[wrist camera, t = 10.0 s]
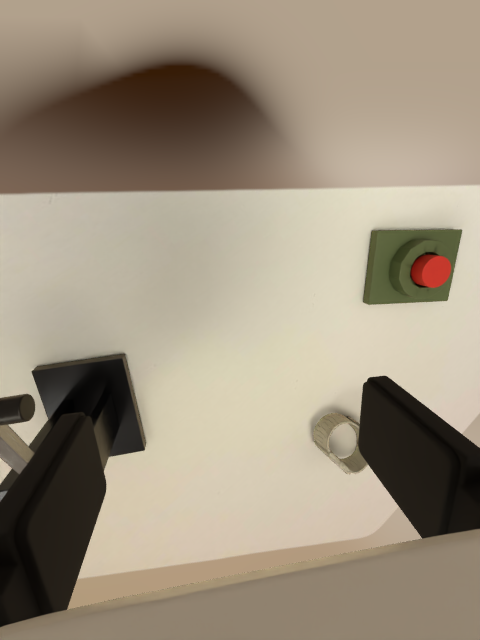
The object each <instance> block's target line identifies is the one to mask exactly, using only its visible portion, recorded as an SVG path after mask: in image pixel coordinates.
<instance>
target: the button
mask: <svg viewBox="0 0 480 640" xmlns="http://www.w3.org/2000/svg"><path fill="white" fill-rule="evenodd" d="M450 273H451V264H450V262H449V260H448V259H447V258H445V257H443V256H437V255H429V254H427V255H423V256H420V257H419V258H418V259H416V260H415V262H414V263H413V265H412V267H411V278H412V280H413V281H414V282H415V283H416V284H419V285H423V286H427V287H431V288H435V287H439V286H441V285H442V284H444V283H445V282H446V280H447V279H448V278H449V276H450Z"/></svg>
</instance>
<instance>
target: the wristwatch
mask: <svg viewBox="0 0 480 640" xmlns="http://www.w3.org/2000/svg"><path fill="white" fill-rule="evenodd" d="M346 423H348V424H350V425H351V426H352V427H353V429H354V430H355V432H356V434H357V444H358V439H359V427H360V424H359V423H357V422H356V421H354V420H353V419H352V418H350V417H349V416H348V417H345V416H343V415H341V414H338V413H331V414H328V415H326V416H324V417H323V418H321V419H320V421H319V422H318V423H317V425H316V426H315V429H314V439H315V441H314V442H315V445H316V446H317V447H318V448H319V449H320V450H321V451H322V452H323V453H324V454H325V455H327V456H328V457H329V458H330V459H331V460H332V461H333V462H334V463H335V464H336V465H337V466H339V467H340V468H341V469H342V470H343V471H344V472H345V473H346V474H351V473H353V474H356V473H359V472H361V471H362V470H364V468H366V466H367V465H368V463H367V462H366V461H365V459H364V458H363V457H362V455H361V454H360V451H359V448H358V446H357V448H356V450H355V451H354V453H353V454H352V455H351V456H349V457H347V458H344V459H339V458H338V457H337V456H335V455H334V454H333V453H332V452H331V451H330V449H329V438H330V436H331V434H332V432H333V430H334V429H335V428H336V427H338V426H339V425H341V424H346Z"/></svg>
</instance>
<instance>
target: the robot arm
mask: <svg viewBox="0 0 480 640" xmlns="http://www.w3.org/2000/svg"><path fill="white" fill-rule="evenodd" d="M358 448H359V451H360V454H361V455H362V457H363V458H364V459H365V461H366V462H367V463H368V465H369V466H370V468H371V469H372V470H373V472H374V473H375V474H376V476H377V477H378V478H379V480H380V481H381V483H382V484H383V485H384V487H385V488H386V489H387V491H388V492H389V493H390V495H391V496H392V498H393V499H394V500H395V502H396V503H397V504H398V506H399V507H400V508H401V510H402V511H403V512H404V514H405V515H406V517H407V518H408V519H409V521H410V522H411V524H412V525H413V526H414V528H415V529H416V530H417V532H418V533H419V534H420V536H421V537H422V539H418V540H413V541H407V542H402V543H397V544H392V545H387V546H381V547H376V548H371V549H365V550H360V551H355V552H350V553H344V554H339V555H334V556H328V557H323V558H318V559H314V560H309V561H303V562H298V563H292V564H288V565H282V566H277V567H272V568H267V569H262V570H257V571H252V572H247V573H242V574H237V575H232V576H227V577H221V578H216V579H212V580H207V581H202V582H197V583H192V584H187V585H182V586H177V587H173V588H167V589H162V590H157V591H152V592H148V593H142V594H137V595H133V596H128V597H123V598H118V599H113V600H109V601H104V602H100V603H95V604H91V605H87V606H82V607H77V608H73V609H69V610H67V608H68V605H69V602H70V599H71V596H72V593H73V590H74V586H75V584H76V581H77V578H78V575H79V572H80V569H81V566H82V563H83V560H84V557H85V554H86V551H87V548H88V545H89V542H90V539H91V536H92V533H93V530H94V527H95V524H96V521H97V518H98V515H99V512H100V509H101V506H102V503H103V500H104V497H105V493H106V479H105V475H104V471H103V466H102V462H101V458H100V453H99V449H98V445H97V441H96V436H95V432H94V428H93V423H92V419H91V417H90V416H85V414H84V413H83V412H79V413H71V414H64V415H62V416H61V417H60V418H59V420H58V421H57V423H56V424H55V426H54V427H53V428H52V430H51V431H50V433H49V434H48V435H47V437H46V438H45V440H44V441H43V443H42V444H41V445H40V447H39V448H38V450H37V451H36V453H35V454H34V455H33V457H32V458H31V460H30V461H29V462H28V464H27V465H26V466H25V468H24V469H23V470H22V472H21V473H20V474H19V476H18V477H17V479H16V480H15V481H14V483H13V484H12V486H11V487H10V489H9V490H8V491H7V493H6V494H5V496H4V497H3V498H2V500H1V501H0V640H480V448H479V447H477V446H476V445H475V444H474V443H472V442H471V441H469V439H467V438H466V437H465V436H463V435H462V434H461V433H460V432H458V431H457V430H456V429H454V428H453V427H452V426H450V425H449V424H448V423H447V422H445V421H444V420H443V419H441V418H440V417H439V416H438V415H436V414H435V413H434V412H432V411H431V410H430V409H429V408H427V407H426V406H425V405H423V404H422V403H421V402H419V401H418V400H417V399H416V398H414V397H413V396H412V395H410V394H409V393H408V392H407V391H405V390H404V389H403V388H401V387H400V386H399V385H398V384H396V383H395V382H394V381H392V380H391V379H390V378H388V377H387V376H378V377H370V378H368V380H367V382H365V383H364V384H363V393H362V404H361V416H360V427H359V439H358Z"/></svg>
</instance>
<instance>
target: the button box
mask: <svg viewBox="0 0 480 640" xmlns="http://www.w3.org/2000/svg"><path fill="white" fill-rule="evenodd" d="M461 234H462V230H378V231H372V233H371V242H370V250H369V258H368V266H367V275H366V283H365V291H364V300H363V302H364V303H366V304H368V305H372V304H392V303H413V302H433V301H447V300H448V296H449V291H450V286H451V282H452V277H453V272H454V267H455V262H456V258H457V253H458V248H459V243H460V238H461ZM427 254H429V255H437V256H443V257H445V258H447V259H448V260H449V262H450V264H451V273H450V276H449V278H448V279H447V280H446V282H445V283H444V284H442V285H441V286H439V287H435V288H431V287H427V286H423V285H419V284H416V283H415V282H414V281H413V280H412V278H411V267H412V265H413V263H414V262H415V260H416V259H418V258H419V257H420V256H423V255H427Z"/></svg>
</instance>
